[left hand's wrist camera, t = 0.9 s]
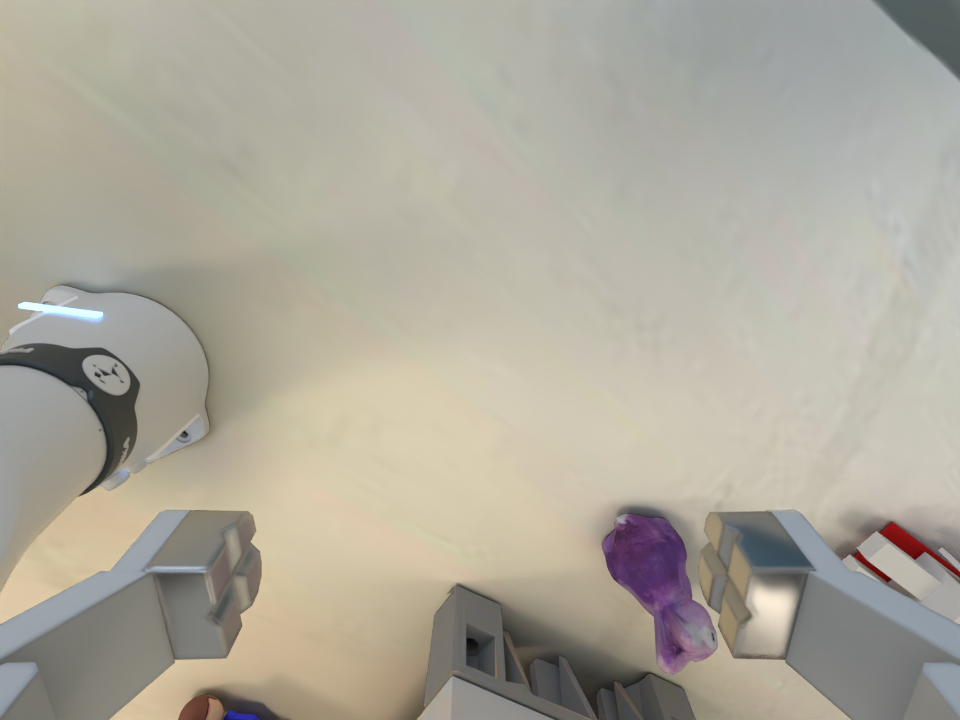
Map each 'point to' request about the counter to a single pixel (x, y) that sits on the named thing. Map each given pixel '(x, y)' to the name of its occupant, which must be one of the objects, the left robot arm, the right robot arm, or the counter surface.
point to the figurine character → (210, 710)
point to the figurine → (660, 588)
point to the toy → (910, 569)
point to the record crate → (521, 676)
